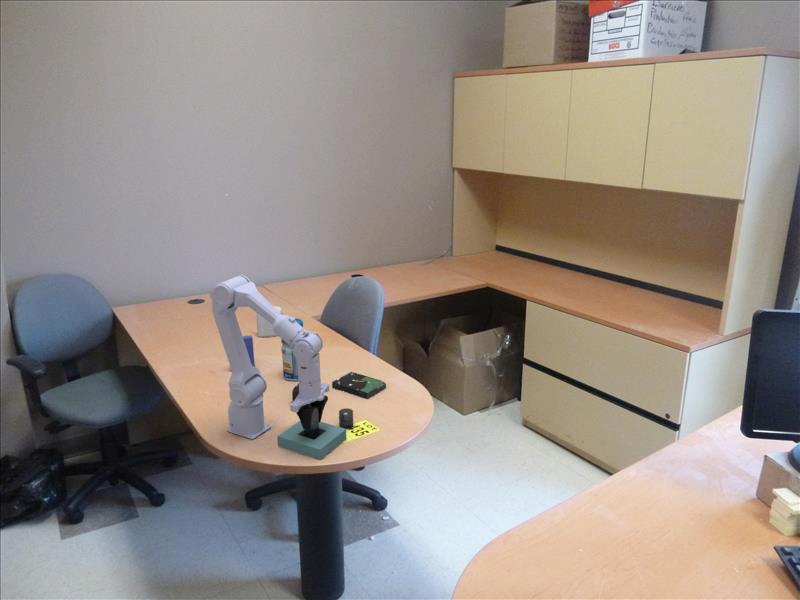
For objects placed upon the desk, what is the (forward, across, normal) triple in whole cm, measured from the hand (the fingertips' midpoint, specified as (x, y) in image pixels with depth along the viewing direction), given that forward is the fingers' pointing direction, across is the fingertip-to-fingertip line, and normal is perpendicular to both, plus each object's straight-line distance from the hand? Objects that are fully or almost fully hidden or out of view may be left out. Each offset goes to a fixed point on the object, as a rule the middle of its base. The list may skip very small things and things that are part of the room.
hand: (311, 425), depth 158 cm
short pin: (+5, +12, -3) cm, 13 cm away
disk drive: (+6, +35, +7) cm, 36 cm away
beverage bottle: (+5, +32, +31) cm, 45 cm away
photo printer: (+5, +59, +65) cm, 88 cm away
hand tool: (+6, +23, +21) cm, 32 cm away
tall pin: (+4, 0, 0) cm, 4 cm away
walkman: (+5, +28, +51) cm, 58 cm away
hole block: (+5, 0, 0) cm, 5 cm away
